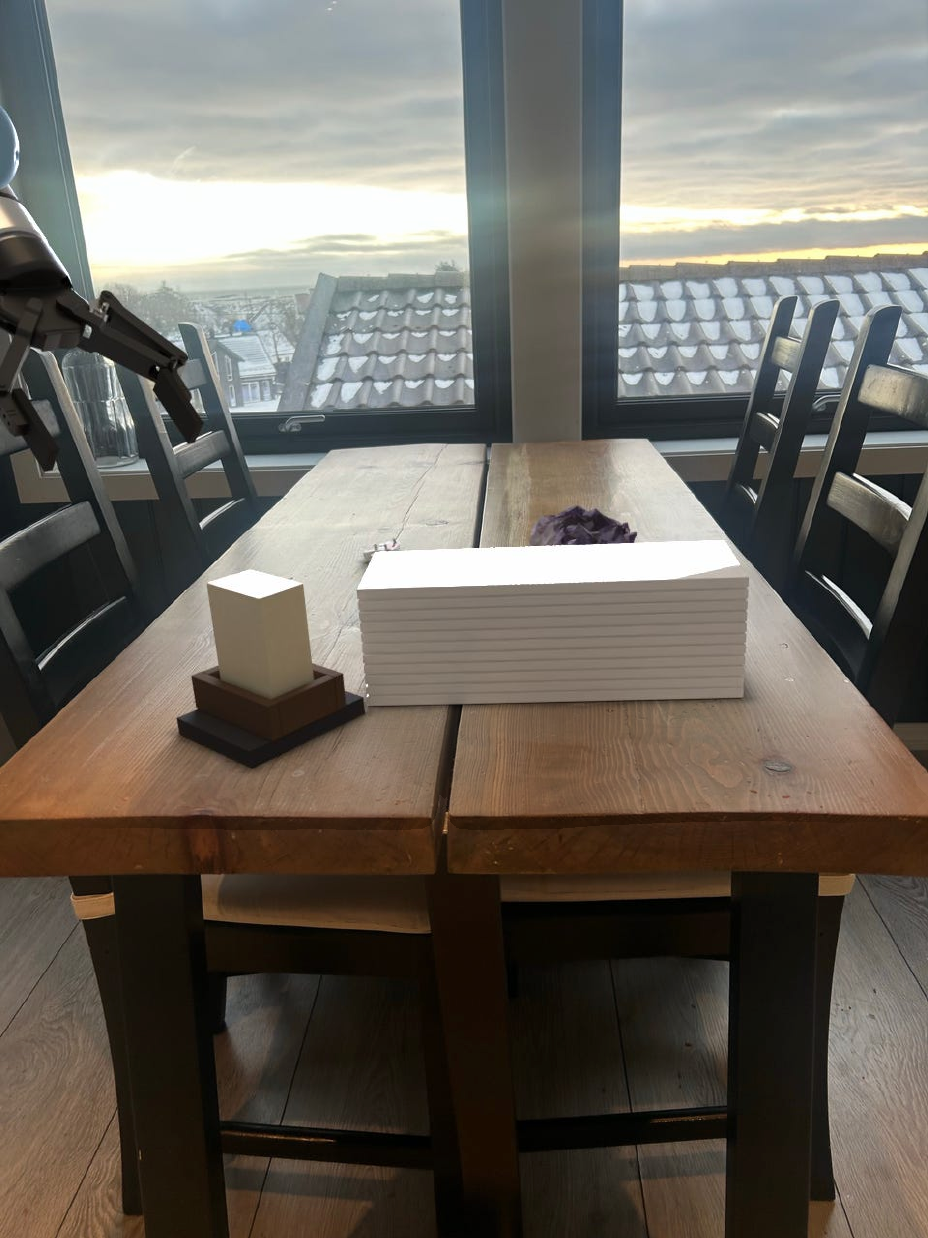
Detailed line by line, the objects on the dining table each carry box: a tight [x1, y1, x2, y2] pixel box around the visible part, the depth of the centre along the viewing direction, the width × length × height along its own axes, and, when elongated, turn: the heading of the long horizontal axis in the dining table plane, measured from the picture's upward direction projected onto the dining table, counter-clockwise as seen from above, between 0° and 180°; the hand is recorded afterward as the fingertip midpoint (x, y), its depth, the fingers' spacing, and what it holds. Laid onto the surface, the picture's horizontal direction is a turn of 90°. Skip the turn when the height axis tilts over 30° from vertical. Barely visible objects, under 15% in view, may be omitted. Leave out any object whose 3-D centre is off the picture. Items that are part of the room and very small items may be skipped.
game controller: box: [362, 537, 423, 562], centre depth 127 cm, size 6×12×3 cm, turn 101°
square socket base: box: [176, 662, 366, 769], centre depth 84 cm, size 12×10×4 cm
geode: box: [528, 505, 638, 547], centre depth 110 cm, size 20×12×10 cm, turn 9°
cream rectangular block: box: [205, 569, 314, 700], centre depth 82 cm, size 4×7×11 cm, turn 48°
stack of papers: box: [356, 539, 750, 707], centre depth 89 cm, size 32×11×11 cm, turn 87°
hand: (128, 446), depth 85 cm, fingers open, 13 cm apart
